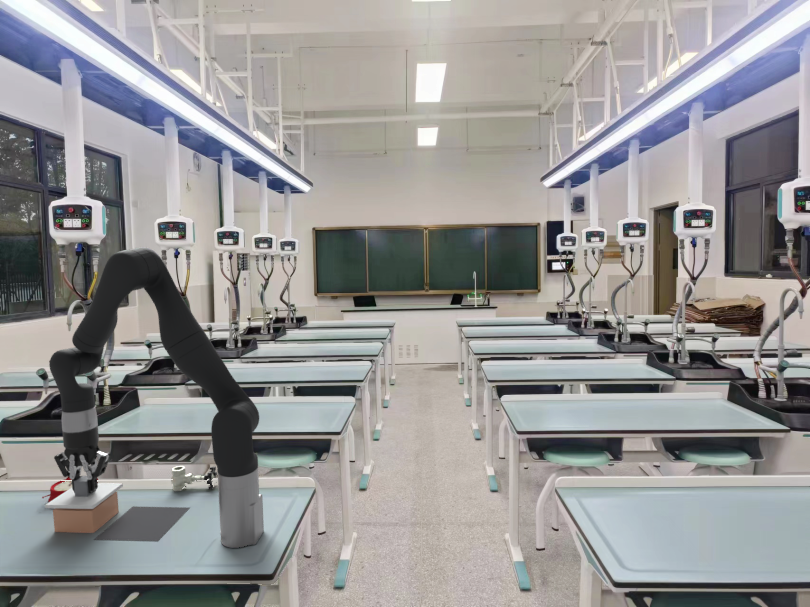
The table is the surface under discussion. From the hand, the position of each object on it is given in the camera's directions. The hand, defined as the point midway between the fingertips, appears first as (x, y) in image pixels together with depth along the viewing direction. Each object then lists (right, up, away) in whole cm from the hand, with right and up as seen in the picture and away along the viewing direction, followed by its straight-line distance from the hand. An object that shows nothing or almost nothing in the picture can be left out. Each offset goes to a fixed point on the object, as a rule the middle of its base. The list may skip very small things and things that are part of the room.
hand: (85, 491), depth 130 cm
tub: (0, -8, +1) cm, 8 cm away
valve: (+20, -7, +19) cm, 28 cm away
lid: (0, -1, 0) cm, 1 cm away
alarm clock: (-14, -7, +17) cm, 23 cm away
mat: (+15, -8, 0) cm, 17 cm away
